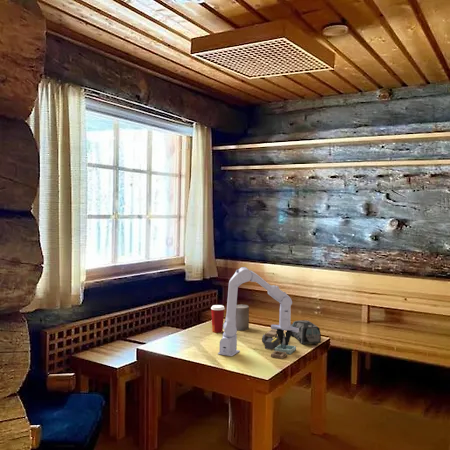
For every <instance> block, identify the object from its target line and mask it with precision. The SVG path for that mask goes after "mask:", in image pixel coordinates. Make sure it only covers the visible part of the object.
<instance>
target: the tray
mask: <svg viewBox="0 0 450 450" xmlns="http://www.w3.org/2000/svg"><path fill="white" fill-rule="evenodd" d="M274 351H280V352H286V355H290V356H291V355H292V354H293V353H294V352H295V351H297V346H295V345H290V344H288V345H287V349H282V344H280V343H279V344H278V345H277V347H275V348H274Z"/></svg>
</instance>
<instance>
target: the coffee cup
mask: <svg viewBox="0 0 450 450" xmlns="http://www.w3.org/2000/svg"><path fill="white" fill-rule="evenodd" d="M210 310H211V329H212V330H211V331H212V333H214V334H221V333H222V332H224V329H223V324H224V319H225V310H226V308H225V306H224V305H223V304H213V305H212V306H211V307H210Z"/></svg>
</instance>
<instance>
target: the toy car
mask: <svg viewBox="0 0 450 450" xmlns="http://www.w3.org/2000/svg"><path fill="white" fill-rule="evenodd" d="M290 326H292V327H296V328H299V332H298V333H296V332H293V333H292V335H291V337H294V338H295V339H297V340H298V341H299V344H301V345H311V344H312V345H313V344H316V345H318V344H321V343H322V340H321V339H322V333H321V329H320V327H319V326H317V325H316V324H314V323H313V322H311V321H310V320H306V319H305V320H304V319H303V320H295V321H293V322H292V323H291V324H290Z"/></svg>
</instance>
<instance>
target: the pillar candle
mask: <svg viewBox="0 0 450 450" xmlns="http://www.w3.org/2000/svg"><path fill="white" fill-rule="evenodd" d="M235 318H236V328H237V331H247V330H249V329H250V327H249V325H250V306H249V305H248V304H242V303H241V304H237V305H236V317H235Z"/></svg>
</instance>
